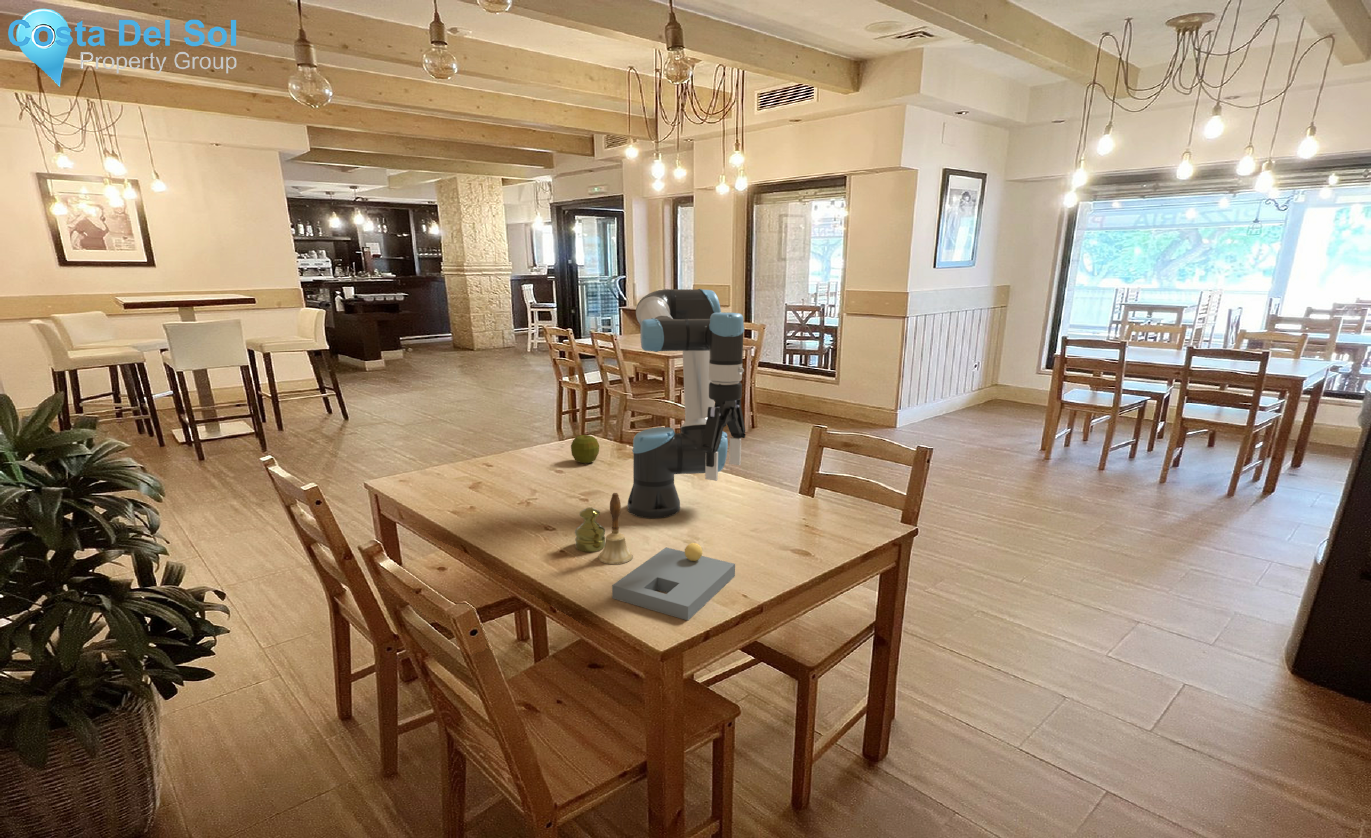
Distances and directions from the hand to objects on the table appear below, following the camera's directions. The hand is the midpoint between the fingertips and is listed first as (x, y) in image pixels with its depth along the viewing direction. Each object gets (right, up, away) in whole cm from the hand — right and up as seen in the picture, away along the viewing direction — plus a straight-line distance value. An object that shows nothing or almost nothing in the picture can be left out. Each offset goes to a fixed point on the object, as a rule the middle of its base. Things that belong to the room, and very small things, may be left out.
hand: (723, 471), depth 151 cm
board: (-11, -24, -11) cm, 29 cm away
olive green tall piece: (-32, -20, +10) cm, 39 cm away
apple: (-45, -3, +81) cm, 93 cm away
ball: (-7, -20, -5) cm, 21 cm away
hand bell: (-26, -21, +4) cm, 33 cm away
